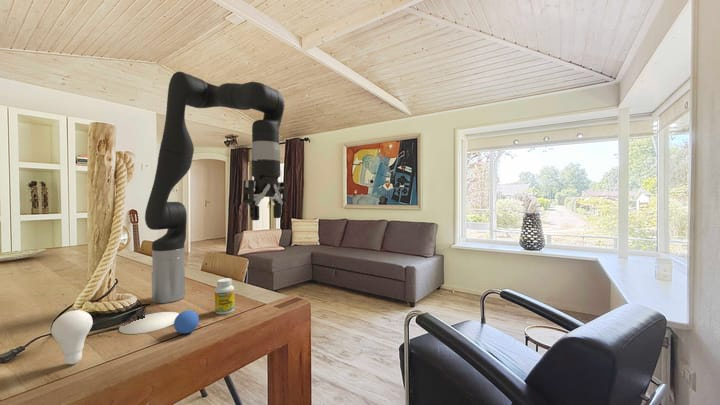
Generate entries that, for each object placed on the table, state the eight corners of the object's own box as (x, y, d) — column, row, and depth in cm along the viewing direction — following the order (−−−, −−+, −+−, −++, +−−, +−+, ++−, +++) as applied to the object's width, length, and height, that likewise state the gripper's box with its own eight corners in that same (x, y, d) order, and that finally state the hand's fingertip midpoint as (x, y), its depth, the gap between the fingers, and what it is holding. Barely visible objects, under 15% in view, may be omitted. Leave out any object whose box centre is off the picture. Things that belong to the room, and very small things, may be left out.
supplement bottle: (232, 306, 92) (232, 276, 92) (236, 312, 87) (235, 280, 87) (214, 310, 89) (213, 279, 89) (216, 316, 84) (215, 283, 84)
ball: (169, 335, 73) (168, 313, 73) (190, 326, 78) (189, 305, 78) (183, 339, 70) (182, 316, 70) (203, 330, 75) (203, 309, 75)
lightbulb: (71, 356, 63) (69, 306, 63) (101, 355, 64) (100, 305, 64) (42, 373, 57) (41, 317, 57) (76, 371, 58) (75, 316, 57)
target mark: (107, 328, 77) (107, 327, 77) (162, 309, 90) (162, 308, 90) (138, 338, 71) (138, 337, 71) (192, 317, 84) (192, 316, 84)
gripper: (273, 163, 87) (273, 217, 88) (234, 157, 75) (235, 220, 75) (293, 161, 84) (294, 217, 85) (257, 155, 71) (257, 221, 72)
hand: (266, 219), depth 80 cm, fingers open, 8 cm apart
